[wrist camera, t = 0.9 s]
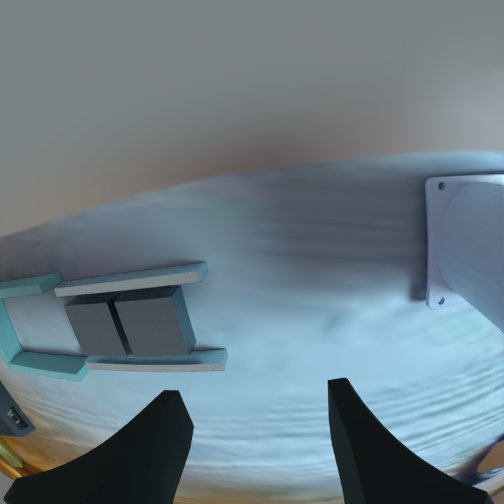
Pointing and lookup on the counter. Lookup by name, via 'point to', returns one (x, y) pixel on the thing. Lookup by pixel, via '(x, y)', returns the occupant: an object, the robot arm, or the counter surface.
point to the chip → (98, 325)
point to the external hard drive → (12, 416)
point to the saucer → (9, 454)
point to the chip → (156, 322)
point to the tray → (49, 365)
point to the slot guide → (138, 280)
